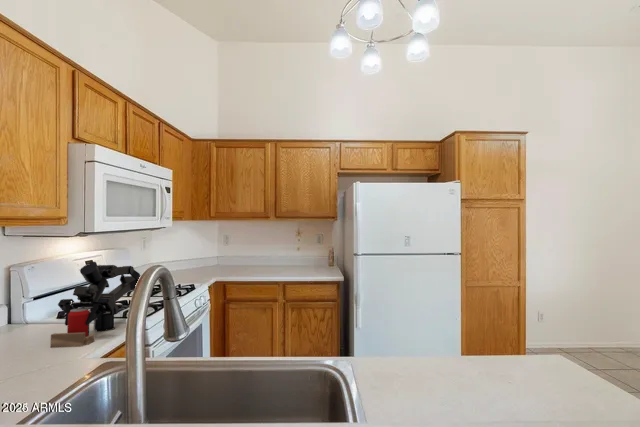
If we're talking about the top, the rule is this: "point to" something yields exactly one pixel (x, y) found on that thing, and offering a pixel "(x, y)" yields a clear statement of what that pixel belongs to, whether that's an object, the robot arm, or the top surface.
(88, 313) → the beverage can
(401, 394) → the top surface
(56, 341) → the can cradle
